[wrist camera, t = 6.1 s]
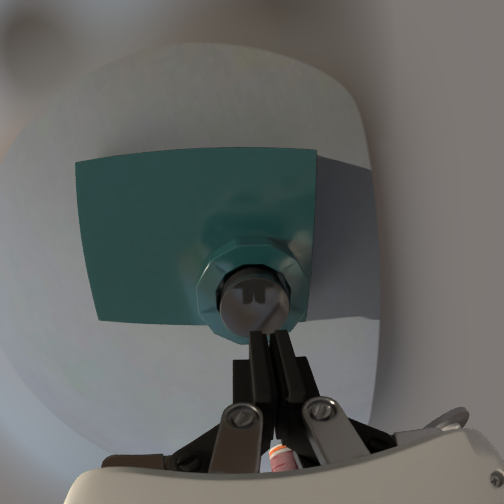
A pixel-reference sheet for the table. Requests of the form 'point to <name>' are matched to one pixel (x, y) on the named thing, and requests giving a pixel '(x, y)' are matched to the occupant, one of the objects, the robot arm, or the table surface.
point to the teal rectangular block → (195, 230)
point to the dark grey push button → (254, 302)
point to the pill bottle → (282, 459)
